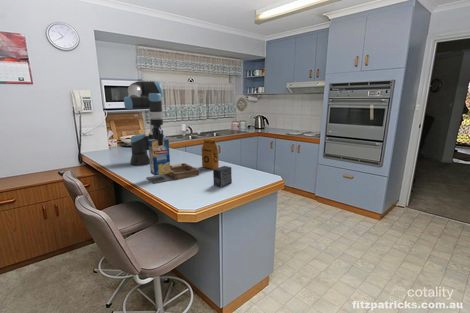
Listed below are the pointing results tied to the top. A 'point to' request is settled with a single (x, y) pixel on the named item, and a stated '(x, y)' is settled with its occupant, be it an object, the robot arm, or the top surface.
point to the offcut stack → (175, 165)
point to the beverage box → (159, 157)
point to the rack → (185, 167)
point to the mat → (160, 178)
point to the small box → (222, 176)
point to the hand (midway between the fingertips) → (159, 155)
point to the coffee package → (210, 154)
